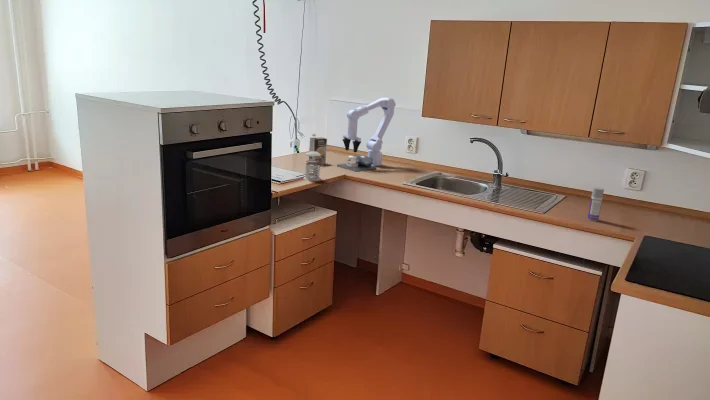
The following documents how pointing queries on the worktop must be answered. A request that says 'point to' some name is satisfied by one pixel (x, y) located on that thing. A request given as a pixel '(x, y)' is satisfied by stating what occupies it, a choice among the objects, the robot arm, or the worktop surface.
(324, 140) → the coffee box
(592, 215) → the container
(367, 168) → the motor mount
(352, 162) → the white mushroom knob
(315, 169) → the french press
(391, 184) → the worktop surface
